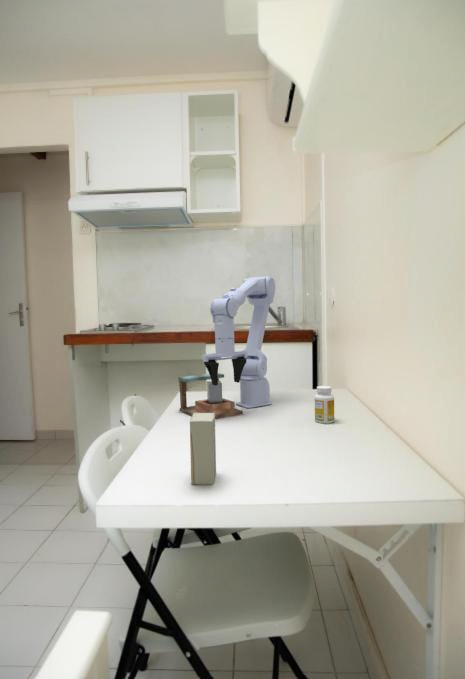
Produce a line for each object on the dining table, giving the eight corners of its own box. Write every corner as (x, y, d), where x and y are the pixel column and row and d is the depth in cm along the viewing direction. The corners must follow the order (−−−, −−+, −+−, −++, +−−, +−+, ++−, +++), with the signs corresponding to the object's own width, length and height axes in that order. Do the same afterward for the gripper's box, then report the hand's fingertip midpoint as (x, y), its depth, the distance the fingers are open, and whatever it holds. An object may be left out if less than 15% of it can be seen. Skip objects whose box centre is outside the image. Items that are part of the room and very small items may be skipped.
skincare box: (195, 472, 87) (192, 412, 86) (217, 472, 87) (215, 412, 86) (190, 485, 81) (188, 420, 80) (214, 485, 81) (212, 420, 80)
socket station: (217, 405, 148) (216, 372, 147) (242, 414, 134) (241, 378, 133) (179, 411, 141) (178, 377, 140) (202, 421, 127) (200, 383, 126)
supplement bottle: (333, 418, 125) (332, 385, 125) (335, 423, 120) (335, 388, 119) (314, 418, 126) (313, 385, 125) (315, 423, 121) (315, 388, 120)
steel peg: (220, 409, 137) (219, 380, 136) (222, 412, 133) (221, 382, 132) (207, 410, 136) (206, 381, 135) (209, 413, 132) (208, 383, 132)
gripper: (238, 336, 138) (239, 379, 139) (196, 339, 130) (198, 384, 131) (250, 337, 132) (251, 382, 133) (207, 340, 124) (209, 387, 125)
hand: (226, 383), depth 132 cm, fingers open, 7 cm apart
